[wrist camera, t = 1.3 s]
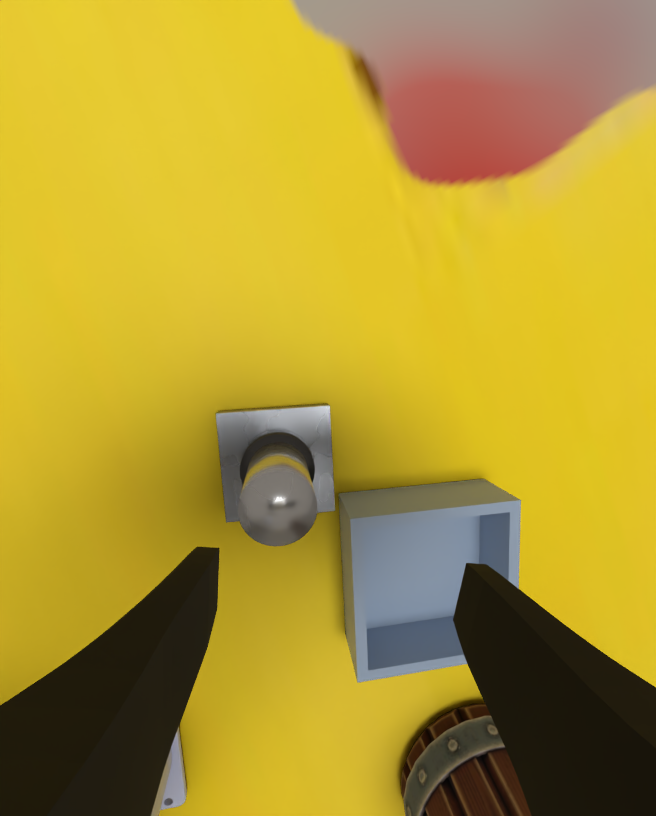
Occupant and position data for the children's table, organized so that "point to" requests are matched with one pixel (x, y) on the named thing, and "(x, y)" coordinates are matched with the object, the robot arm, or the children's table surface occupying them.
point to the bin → (418, 569)
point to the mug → (461, 769)
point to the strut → (277, 488)
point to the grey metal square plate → (250, 423)
